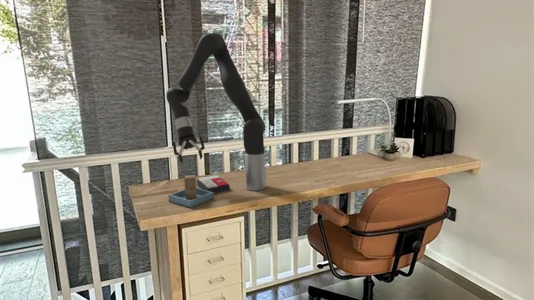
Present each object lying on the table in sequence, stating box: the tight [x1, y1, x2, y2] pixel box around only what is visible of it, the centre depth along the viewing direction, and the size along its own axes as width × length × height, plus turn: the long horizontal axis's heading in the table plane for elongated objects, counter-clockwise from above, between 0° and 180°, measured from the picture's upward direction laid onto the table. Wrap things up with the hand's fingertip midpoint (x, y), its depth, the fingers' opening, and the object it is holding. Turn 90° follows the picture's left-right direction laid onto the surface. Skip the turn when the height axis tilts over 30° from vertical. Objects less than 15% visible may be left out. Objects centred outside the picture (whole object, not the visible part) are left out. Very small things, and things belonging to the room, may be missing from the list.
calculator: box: [196, 174, 231, 194], centre depth 189 cm, size 11×4×15 cm
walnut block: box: [184, 174, 197, 200], centre depth 172 cm, size 4×4×10 cm
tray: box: [168, 187, 214, 208], centre depth 173 cm, size 14×14×3 cm
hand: (191, 161), depth 184 cm, fingers open, 8 cm apart
